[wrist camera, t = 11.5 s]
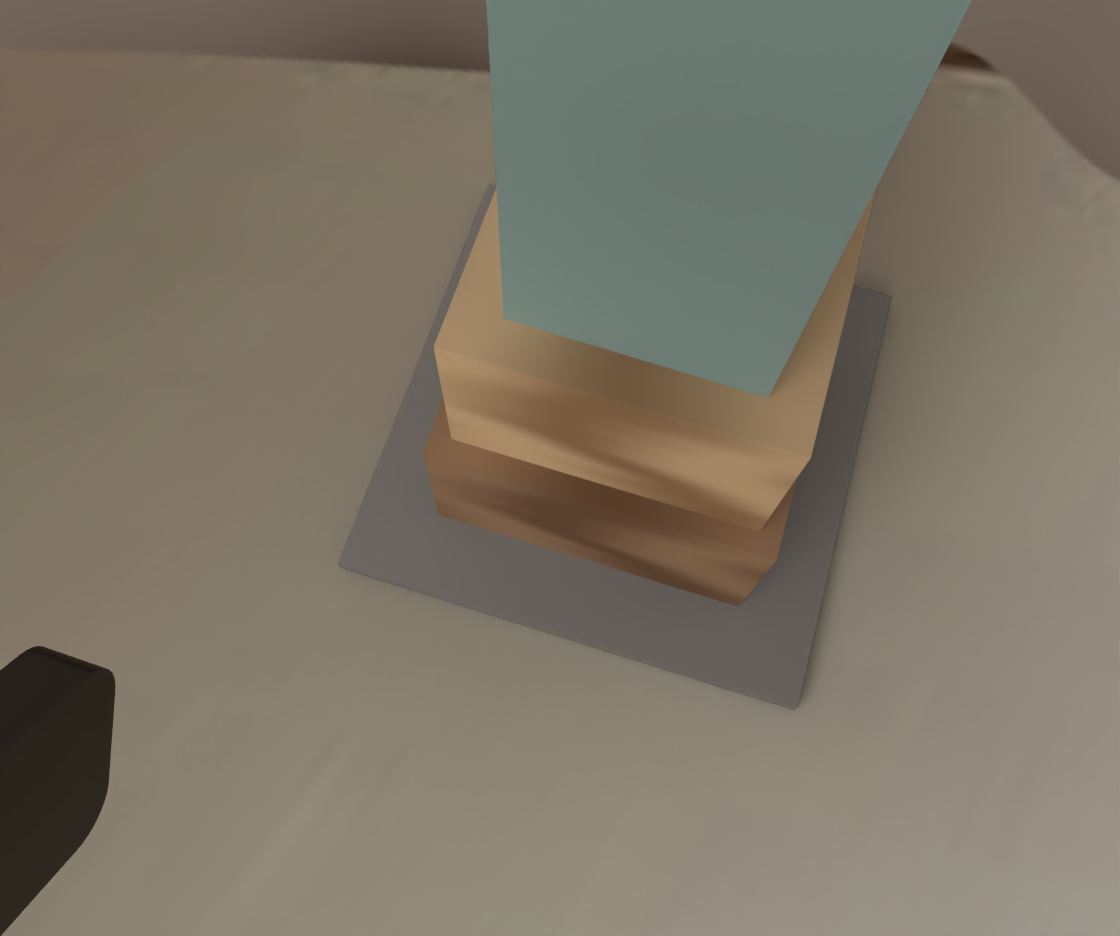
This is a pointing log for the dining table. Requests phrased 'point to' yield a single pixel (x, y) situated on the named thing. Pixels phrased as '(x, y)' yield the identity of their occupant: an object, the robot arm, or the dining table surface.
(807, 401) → the oak block
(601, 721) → the dining table surface
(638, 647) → the felt mat
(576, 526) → the walnut block
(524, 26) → the teal block
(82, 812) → the robot arm
